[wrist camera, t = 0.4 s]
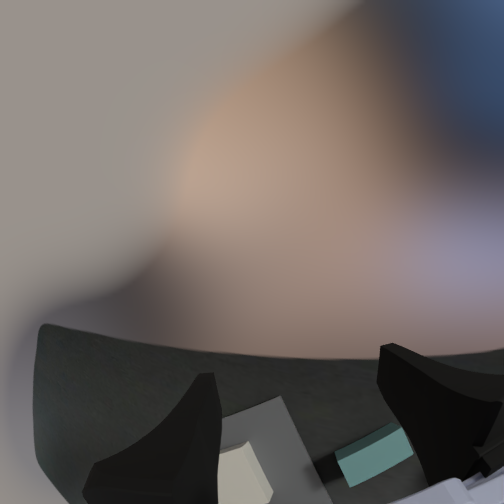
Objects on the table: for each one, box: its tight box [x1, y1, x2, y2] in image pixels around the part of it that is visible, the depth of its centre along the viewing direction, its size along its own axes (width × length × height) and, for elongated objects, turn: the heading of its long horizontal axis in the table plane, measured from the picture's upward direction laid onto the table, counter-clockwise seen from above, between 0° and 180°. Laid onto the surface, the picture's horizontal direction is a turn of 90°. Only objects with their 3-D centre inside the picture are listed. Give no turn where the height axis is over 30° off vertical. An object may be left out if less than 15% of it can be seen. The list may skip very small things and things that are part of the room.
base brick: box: [218, 441, 273, 504], centre depth 29 cm, size 8×8×4 cm
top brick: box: [335, 422, 413, 487], centre depth 28 cm, size 4×8×5 cm, turn 113°
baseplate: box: [220, 396, 333, 504], centre depth 31 cm, size 20×16×1 cm
